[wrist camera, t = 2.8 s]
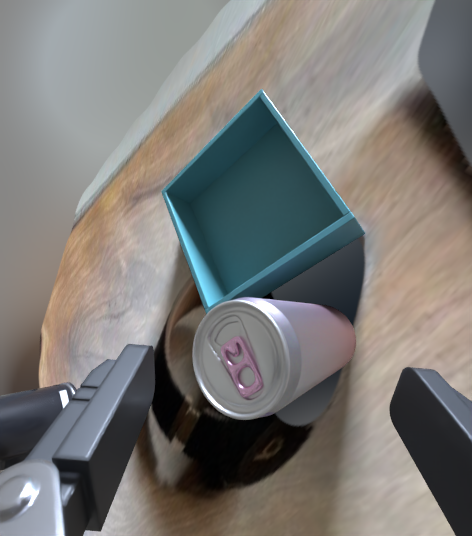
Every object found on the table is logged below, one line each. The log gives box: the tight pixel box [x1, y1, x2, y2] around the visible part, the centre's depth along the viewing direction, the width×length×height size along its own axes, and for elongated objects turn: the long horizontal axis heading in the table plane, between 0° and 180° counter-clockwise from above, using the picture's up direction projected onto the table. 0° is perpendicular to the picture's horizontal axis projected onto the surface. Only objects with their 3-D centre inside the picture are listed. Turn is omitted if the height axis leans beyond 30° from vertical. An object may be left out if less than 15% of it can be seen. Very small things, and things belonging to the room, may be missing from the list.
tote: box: [161, 89, 365, 314], centre depth 29 cm, size 17×16×5 cm
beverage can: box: [192, 297, 356, 420], centre depth 19 cm, size 6×6×15 cm
